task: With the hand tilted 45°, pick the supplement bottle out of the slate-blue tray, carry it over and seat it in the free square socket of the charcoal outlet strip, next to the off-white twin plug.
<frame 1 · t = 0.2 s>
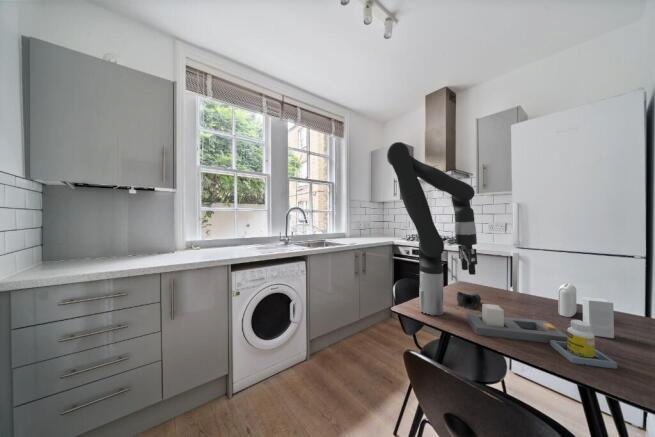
hand: (468, 272, 96), 18 cm above the table, tool pointing down, fingers open, 8 cm apart
supplement bottle: (580, 356, 68), resting in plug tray
skincare box: (597, 334, 80), on the table
socket strip: (512, 330, 83), on the table
beverage can: (471, 305, 108), on the table
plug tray: (580, 355, 68), on the table
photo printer: (567, 314, 97), on the table
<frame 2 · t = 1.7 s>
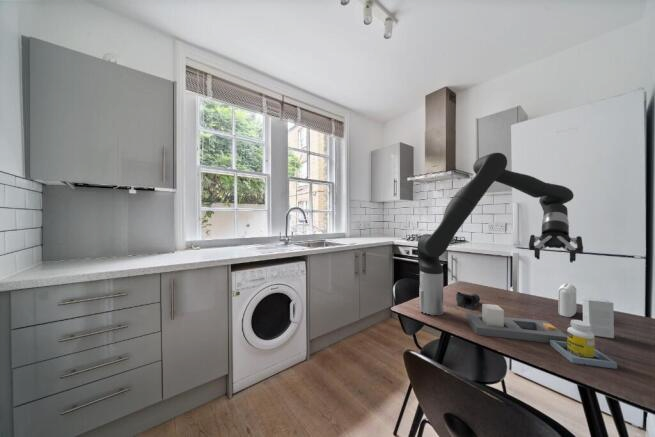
hand: (554, 259, 83), 25 cm above the table, tool tilted 45°, fingers open, 8 cm apart
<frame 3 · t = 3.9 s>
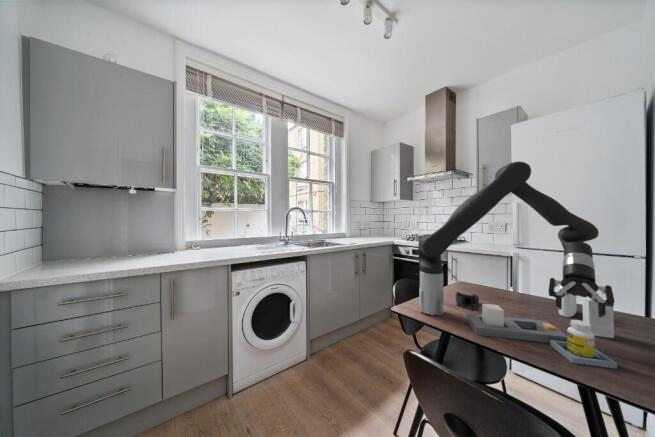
hand: (579, 311, 72), 11 cm above the table, tool tilted 45°, fingers open, 8 cm apart
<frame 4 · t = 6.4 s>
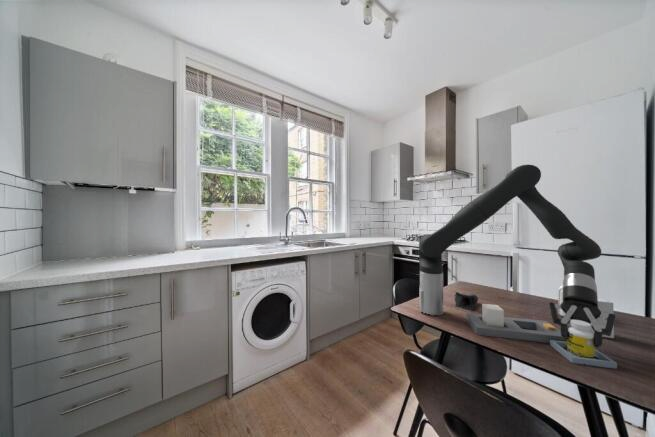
hand: (580, 341, 67), 5 cm above the table, tool tilted 45°, fingers closed on supplement bottle, 5 cm apart
supplement bottle: (580, 356, 68), resting in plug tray, touching gripper
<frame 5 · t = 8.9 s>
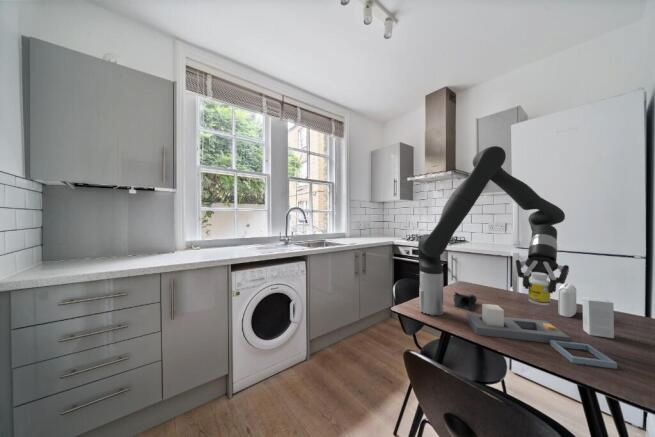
hand: (538, 289, 76), 17 cm above the table, tool tilted 45°, fingers closed on supplement bottle, 5 cm apart
supplement bottle: (539, 303, 78), point 12 cm above the table, touching gripper
when the fingers open (6 cm above the table, at t = 11.8 s): supplement bottle drops 1 cm, resting in socket strip.
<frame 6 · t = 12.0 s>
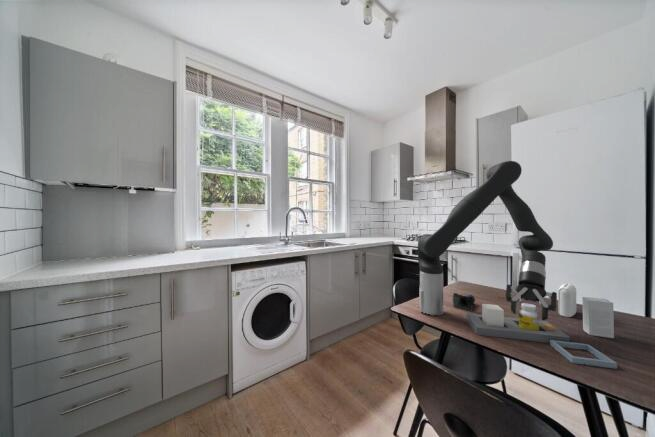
hand: (528, 315, 80), 6 cm above the table, tool tilted 45°, fingers open, 7 cm apart
supplement bottle: (528, 333, 82), resting in socket strip
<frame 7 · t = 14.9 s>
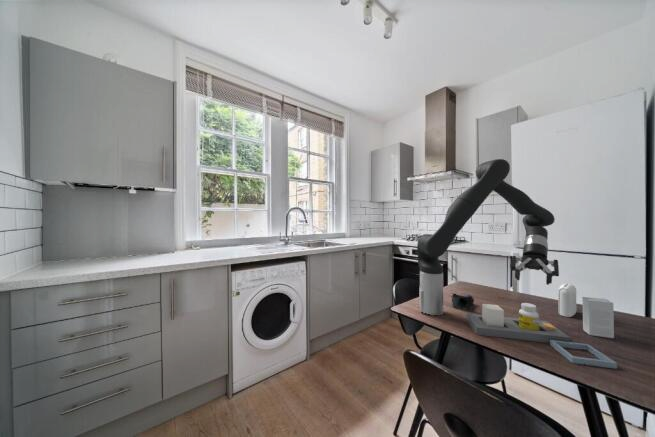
hand: (532, 281, 89), 16 cm above the table, tool tilted 45°, fingers open, 8 cm apart
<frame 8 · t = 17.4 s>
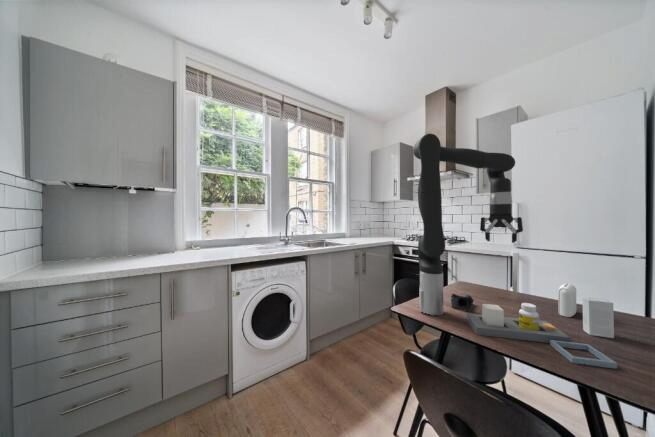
hand: (500, 241, 98), 30 cm above the table, tool pointing down, fingers open, 8 cm apart
at the end: supplement bottle 0.2 cm from the target spot on the socket strip, point 0.0 cm above the socket strip's base; supplement bottle tilted 0°; the gripper is holding nothing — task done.
